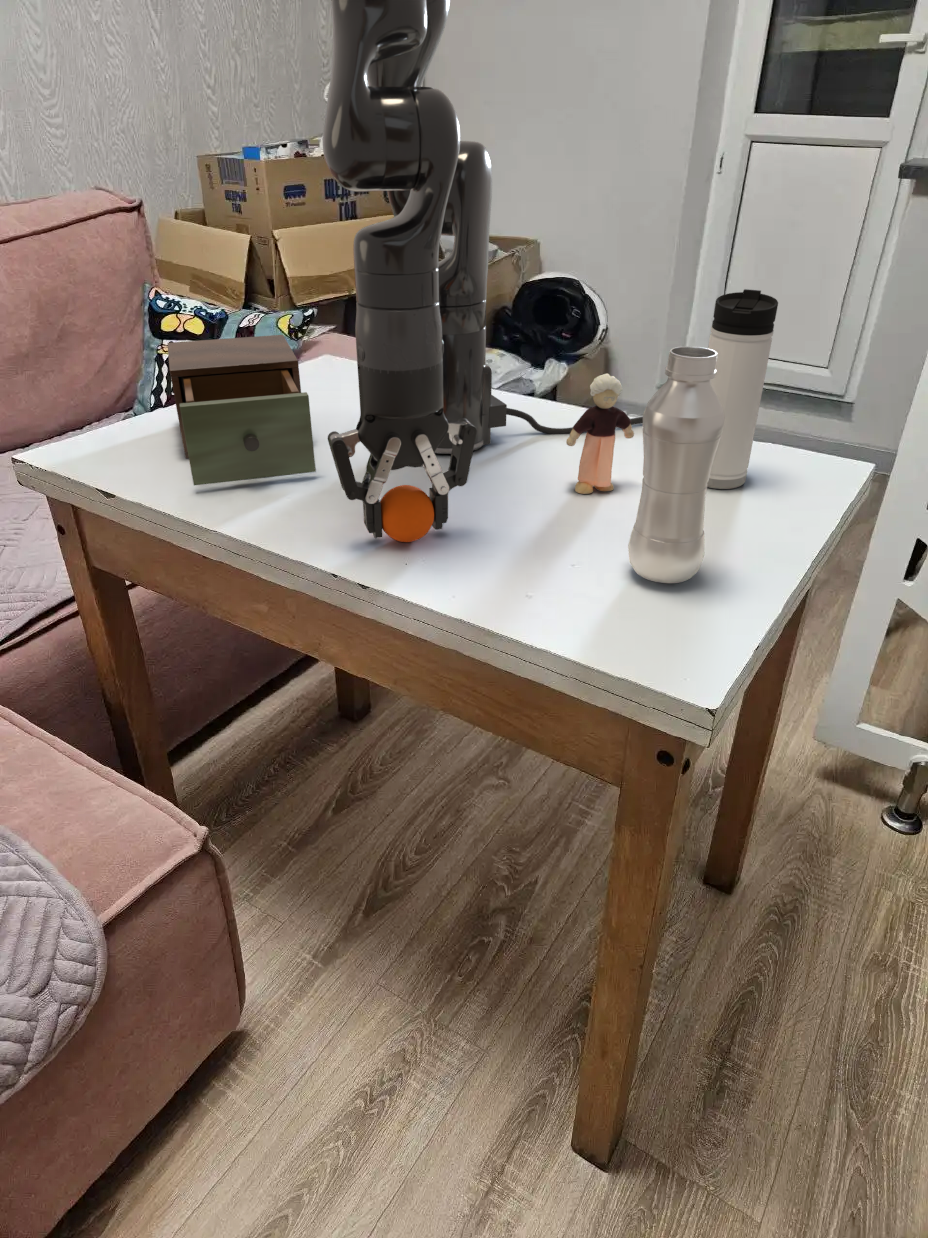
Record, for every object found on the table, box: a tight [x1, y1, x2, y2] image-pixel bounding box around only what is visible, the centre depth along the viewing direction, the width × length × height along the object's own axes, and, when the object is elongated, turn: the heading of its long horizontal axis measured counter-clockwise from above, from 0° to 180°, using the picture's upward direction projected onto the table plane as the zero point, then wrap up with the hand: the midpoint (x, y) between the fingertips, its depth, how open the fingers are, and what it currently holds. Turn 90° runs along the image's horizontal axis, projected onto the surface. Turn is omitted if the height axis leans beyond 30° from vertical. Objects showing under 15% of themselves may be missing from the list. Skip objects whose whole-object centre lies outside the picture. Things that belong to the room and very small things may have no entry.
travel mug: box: [707, 288, 779, 490], centre depth 91 cm, size 6×7×20 cm
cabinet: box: [166, 334, 302, 460], centre depth 106 cm, size 14×15×11 cm
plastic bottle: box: [627, 346, 725, 584], centre depth 72 cm, size 6×7×20 cm
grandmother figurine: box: [565, 373, 635, 495], centre depth 91 cm, size 8×4×13 cm, turn 117°
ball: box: [379, 484, 434, 543], centre depth 82 cm, size 6×6×6 cm
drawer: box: [180, 368, 317, 486], centre depth 96 cm, size 14×13×9 cm
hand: (406, 529), depth 83 cm, fingers closed on ball, 5 cm apart
